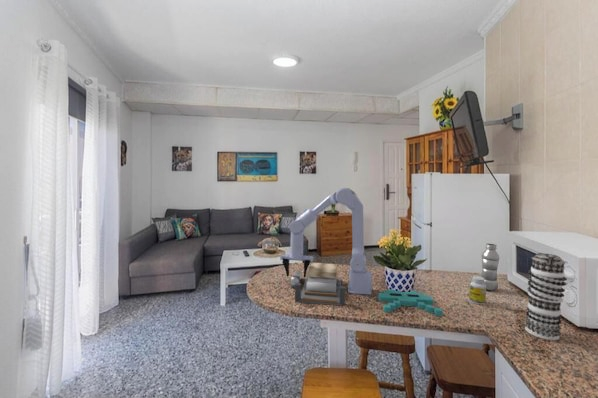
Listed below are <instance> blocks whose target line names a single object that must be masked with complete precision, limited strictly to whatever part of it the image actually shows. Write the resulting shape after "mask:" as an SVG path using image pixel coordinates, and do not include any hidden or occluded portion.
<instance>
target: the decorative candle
mask: <svg viewBox="0 0 598 398" xmlns="http://www.w3.org/2000/svg"><path fill="white" fill-rule="evenodd" d="M530 258H531V259H532V260H531V264H532V265H531V267H530V269H529V270H527V273H528V274H529V275H528V277H527V279H528V281H527V285H528V287H527V290H528V292H527V295H528V296H529V297H528V302H527V307H526V312H525V315H526V316H525V322H524V323H525V327H524V329H525V331H526V332H527V333H529V334H530V335H532V336H534V337H537V338H540V339H544V340H547V341H557V340H559V339H560V338H561V337H560V335H561V329H562V328H561V325H560V324H562V320H561V319H562V314H561V313H562V309H561V306H562V305H561V304H562V303H563V301H564V297H565V295H564V292H566V289H565V288H563V287H564V286H567V283H566V282H565V281H567V280H568V278H567V277H565V271H564V270H565V264H566V261H564V260H563V259H562V257H560V256H559V255H555V254H552V253H545V252H543V253H542V252H540V253H539V252H538V253H536V254H535V255H534V256H532V257H530Z"/></svg>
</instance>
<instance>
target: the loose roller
mask: <svg viewBox="0 0 598 398" xmlns="http://www.w3.org/2000/svg"><path fill="white" fill-rule="evenodd" d="M291 276H292V277H291V278H290V280H289V286H290V287H291V288H295V284H296V283H301V280H302V277H303V272H302V271H301V270H297V269H296V270H295V271H294V273H293V274H292V275H291Z"/></svg>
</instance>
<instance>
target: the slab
mask: <svg viewBox="0 0 598 398" xmlns="http://www.w3.org/2000/svg"><path fill="white" fill-rule="evenodd" d="M309 265H310V267H308V277H321V278H338V276H337V275H338V264H337V263H335V264H334V263H321V262H310V264H309Z"/></svg>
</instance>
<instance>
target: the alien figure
mask: <svg viewBox="0 0 598 398" xmlns="http://www.w3.org/2000/svg"><path fill="white" fill-rule="evenodd" d="M411 290H412V289H411ZM377 297H378V301H379V303H380V302H381V303H382V302H383V303H384V302H385V303H387V304H383V306H382V307H383V308H382V310H383V312H384V313H391V311H396V309H397V308H399V309H401V306H406V307H407V306H408V307H417V309H418V310H425V311H426V313H433V314H434V315H435V316H437V317H438V316H440V317H441V316H443V315H444V313H443V312H444V310H442V308H440V307H434V299H433V298H432V296H431V295H426V294H424V293H423V292H417V291H416V290H415V289H414V290H412V291H410V292H401V291H396V290H392V289H391V288H388V289H386V290H382V292H377Z"/></svg>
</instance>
